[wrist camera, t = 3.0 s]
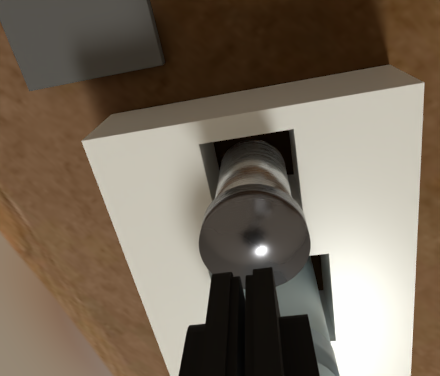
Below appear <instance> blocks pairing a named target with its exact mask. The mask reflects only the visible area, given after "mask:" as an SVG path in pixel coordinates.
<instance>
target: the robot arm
mask: <svg viewBox="0 0 440 376" xmlns="http://www.w3.org/2000/svg"><path fill="white" fill-rule="evenodd" d="M252 273H253V275H246V277H245V296H244V291H243V286H242V282H241V278H240V276H236V277H234V276H233V273H232V272H224V273H215V274H212V277H211V284H210V292H209V299H208V307H207V314H206V322H205V324H198V325H189V327H188V329H187V333H186V338H185V343H184V349H183V354H182V360H181V365H180V370H179V376H320V374H319V369H318V364H317V359H316V354H315V349H314V343H313V338H312V333H311V328H310V323H309V318H308V314H303V315H293V316H282V317H281V316H280V310H279V304H278V298H277V292H276V286H275V280H274V274H273V268H272V267H268V268H260V269H253V272H252Z"/></svg>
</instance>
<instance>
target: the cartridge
mask: <svg viewBox="0 0 440 376" xmlns="http://www.w3.org/2000/svg"><path fill="white" fill-rule="evenodd" d="M243 291H244V296H245V289H243ZM276 292H277V298H278V304H279V310H280V316H281V317H282V316H293V315H303V314H308V318H309V323H310V328H311V333H312V338H313V343H314V349H315V354H316V359H317V364H318V369H319V374H320V376H340V375H339V371H338V367H337V362H336V358H335V354H334V351H333V348H332V346H331V342H330V337H329V333H328V329H327V325H326V320H325V316H324V312H323V307H322V303H321V299H320V294H319V290H318V286H317V282H316V277H315V273H314V269H313V264H312V260H311V256H309V257H308V260H307V262H306V264H305V266H304V267H303V268H302V270H301V271H300V272H299V273H298V274H297V275H296V276H295V277H294V278H292V279H291V280H289V281H288V282H286V283H284V284H282V285H279V286H277V287H276Z"/></svg>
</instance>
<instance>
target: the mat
mask: <svg viewBox="0 0 440 376" xmlns="http://www.w3.org/2000/svg"><path fill="white" fill-rule="evenodd" d="M0 22H1V24H2V26H3V29H4V31H5V34H6V36H7V38H8V41H9V43H10V46H11V48H12V50H13V53H14V55H15V58H16V60H17V62H18V65H19V67H20V70H21V72H22V74H23V77H24V79H25V82H26V84H27V86H28V89H29V91H33V90H38V89H43V88H48V87H53V86H58V85H63V84H68V83H74V82H79V81H84V80H89V79H94V78H99V77H104V76H109V75H115V74H120V73H125V72H130V71H135V70H140V69H145V68H150V67H155V66H161V65H164V64H165V59H164V55H163V51H162V47H161V43H160V39H159V35H158V31H157V27H156V23H155V19H154V15H153V11H152V7H151V3H150V0H0Z"/></svg>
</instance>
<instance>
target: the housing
mask: <svg viewBox="0 0 440 376" xmlns="http://www.w3.org/2000/svg"><path fill="white" fill-rule="evenodd" d="M423 102H424V82H422V81H420V80H419V79H417V78H415V77H413V76H411V75H409V74H407V73H405V72H403V71H401V70H399V69H397V68H395V67H394V66H392V65H390V64H389V65H384V66H378V67H373V68H367V69H361V70H356V71H350V72H345V73H339V74H334V75H328V76H322V77H317V78H311V79H306V80H300V81H294V82H289V83H283V84H278V85H272V86H267V87H261V88H255V89H250V90H244V91H239V92H233V93H228V94H222V95H216V96H211V97H205V98H200V99H194V100H188V101H183V102H177V103H172V104H166V105H161V106H155V107H149V108H144V109H138V110H133V111H127V112H122V113H116V114H111V115H110V116H109V117H108V118H107V119H106V120H104V121H103V122H102V123H101V124H100V125H99V126H98V127H97V128H95V129H94V130H93V131H92V132H91V133H90V134H89V135H88V136H86V137H85V138H84V139H83V140H82V144H83V146H84V149H85V152H86V154H87V157H88V159H89V162H90V165H91V167H92V170H93V173H94V175H95V178H96V181H97V183H98V186H99V189H100V191H101V194H102V197H103V199H104V202H105V204H106V207H107V210H108V212H109V215H110V218H111V220H112V223H113V226H114V228H115V231H116V234H117V236H118V239H119V242H120V244H121V247H122V249H123V252H124V255H125V257H126V260H127V263H128V265H129V268H130V271H131V273H132V276H133V279H134V281H135V284H136V286H137V289H138V292H139V294H140V297H141V300H142V302H143V305H144V308H145V310H146V313H147V316H148V318H149V321H150V324H151V326H152V329H153V331H154V334H155V337H156V339H157V342H158V345H159V347H160V350H161V353H162V355H163V358H164V361H165V363H166V366H167V369H168V371H169V374H170V376H179V370H180V365H181V360H182V354H183V349H184V343H185V338H186V333H187V329H188V327H189V325H198V324H205V322H206V314H207V307H208V299H209V292H210V284H211V277H212V273H211V272H210V271H209V270H208V269H207V267H206V266H205V264H204V262H203V261H202V258H201V255H200V252H199V236H200V231H201V226H202V221H203V217H204V214H205V212H206V210H207V208H208V206H209V205H210V203H211V202H212V201H213V200H214V199H215V196H216V190H217V184H218V178H219V172H220V171H219V166H218V162H217V157H216V152H215V148H214V143H213V142H216V141H223V140H229V139H235V138H241V137H247V136H254V135H260V134H266V133H272V132H279V131H285V130H289V138H290V146H291V155H292V163H293V172H294V175H287V177H288V182H289V186H290V191H291V196H292V198H293V199H294V200H295V201H296V202H297V203H298V204H299V206H300V207H301V209H302V211H303V213H304V216H305V219H306V223H307V227H308V231H309V235H310V241H311V248H310V254H309V256H312V255H320V259H321V270H322V280H323V290H320V291H319V294H320V299H321V303H322V307H323V312H324V316H325V320H326V325H327V329H328V333H329V337H330V342H331V346H332V348H333V351H334V354H335V358H336V362H337V367H338V371H339V375H340V376H411V359H412V338H413V316H414V295H415V274H416V252H417V231H418V209H419V188H420V166H421V145H422V123H423Z"/></svg>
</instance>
